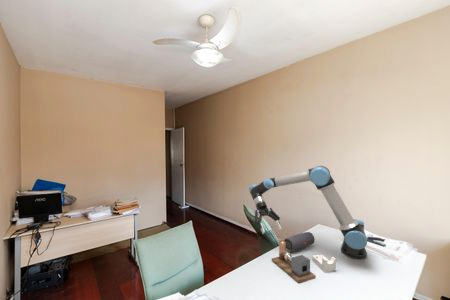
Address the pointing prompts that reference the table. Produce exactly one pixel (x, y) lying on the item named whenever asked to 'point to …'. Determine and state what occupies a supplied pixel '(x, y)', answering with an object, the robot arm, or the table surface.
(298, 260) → the bearing block
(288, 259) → the shaft
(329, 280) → the table surface
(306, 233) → the bluetooth speaker
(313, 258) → the bracket
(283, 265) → the walnut board
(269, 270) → the table surface
